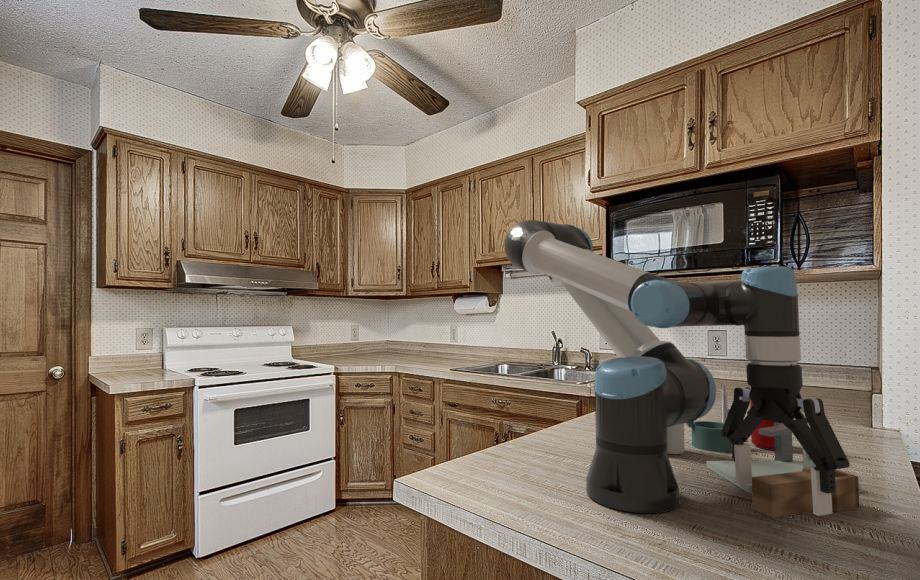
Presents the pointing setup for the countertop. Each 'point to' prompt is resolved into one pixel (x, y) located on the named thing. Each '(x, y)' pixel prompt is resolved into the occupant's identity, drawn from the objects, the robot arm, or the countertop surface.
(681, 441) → the paper towel roll
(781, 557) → the countertop surface
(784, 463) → the base board
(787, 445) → the keeper
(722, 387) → the screw
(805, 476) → the link
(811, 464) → the cylinder
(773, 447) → the beverage can
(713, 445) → the teal hollow cylinder
